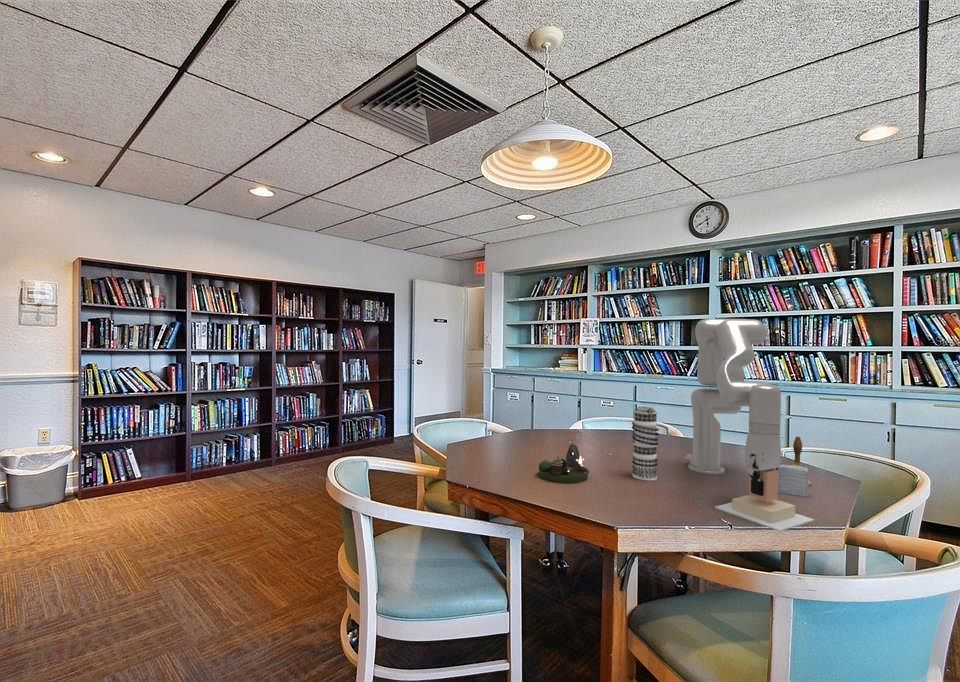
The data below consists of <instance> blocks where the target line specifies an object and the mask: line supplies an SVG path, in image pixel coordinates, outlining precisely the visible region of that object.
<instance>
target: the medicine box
mask: <svg viewBox="0 0 960 682" xmlns="http://www.w3.org/2000/svg"><path fill="white" fill-rule="evenodd" d="M808 480H809V469H808V468H807V467H803V466H802V467H797V466H791V465H789V464H781V466H780V467H779V469H778V494H784V495H790V496H791V495H792V496H797V497H804V498H808V497H809V486H808Z"/></svg>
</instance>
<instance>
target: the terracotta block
mask: <svg viewBox="0 0 960 682" xmlns="http://www.w3.org/2000/svg"><path fill="white" fill-rule="evenodd" d="M755 468H756V469H758V467H755ZM755 472H756V473H757V474H758V475H759V472H758V471H755ZM748 475H749V474H748ZM748 477H749V480H748V485H749V486H748V495H749V496H751V497H754V498H757V499H760V500H764V501H767V502H768V501H771V500H775V499H776V500H779V499H778V497H779V495H778V494H779V493H778V470H775V469H770V470H765V471H764V472H763V478H762V481H763V482H764V491H763V496H760V495H757V494H753V493H751V479H750V475H749V476H748Z"/></svg>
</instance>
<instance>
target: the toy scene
mask: <svg viewBox="0 0 960 682" xmlns="http://www.w3.org/2000/svg"><path fill="white" fill-rule="evenodd" d="M583 461H585V459H584V458H582V456H581V455H580V452H579V449H578V445H577V444H570V445H569V446H568V449H567V452H566V456H565V458H560V459H559V455H557V459H554V460H552V462H551V461H549V460H547V459H544V460H542V461H540V462H539V463H538V471H539V475H540V476H541V478H542V479H544V480H546V481H549V482H553V483H560V484H576V483H581V482H584V481H586V480H588V476H589V474H590V470H589V469H588V468H587V467H585V466H584V465H583Z"/></svg>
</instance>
